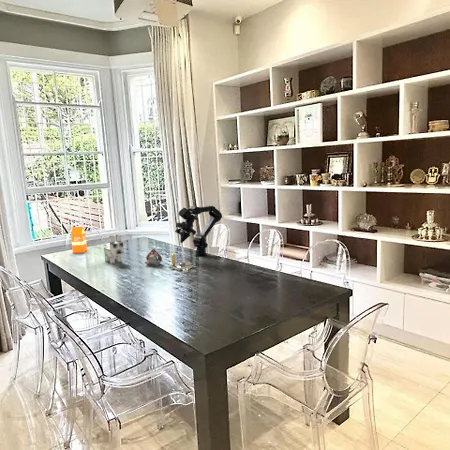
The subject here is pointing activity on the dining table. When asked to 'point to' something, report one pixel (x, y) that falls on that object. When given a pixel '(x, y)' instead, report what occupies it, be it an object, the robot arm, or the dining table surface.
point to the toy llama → (114, 250)
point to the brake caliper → (153, 258)
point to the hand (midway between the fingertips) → (181, 242)
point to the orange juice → (78, 239)
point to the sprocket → (180, 264)
